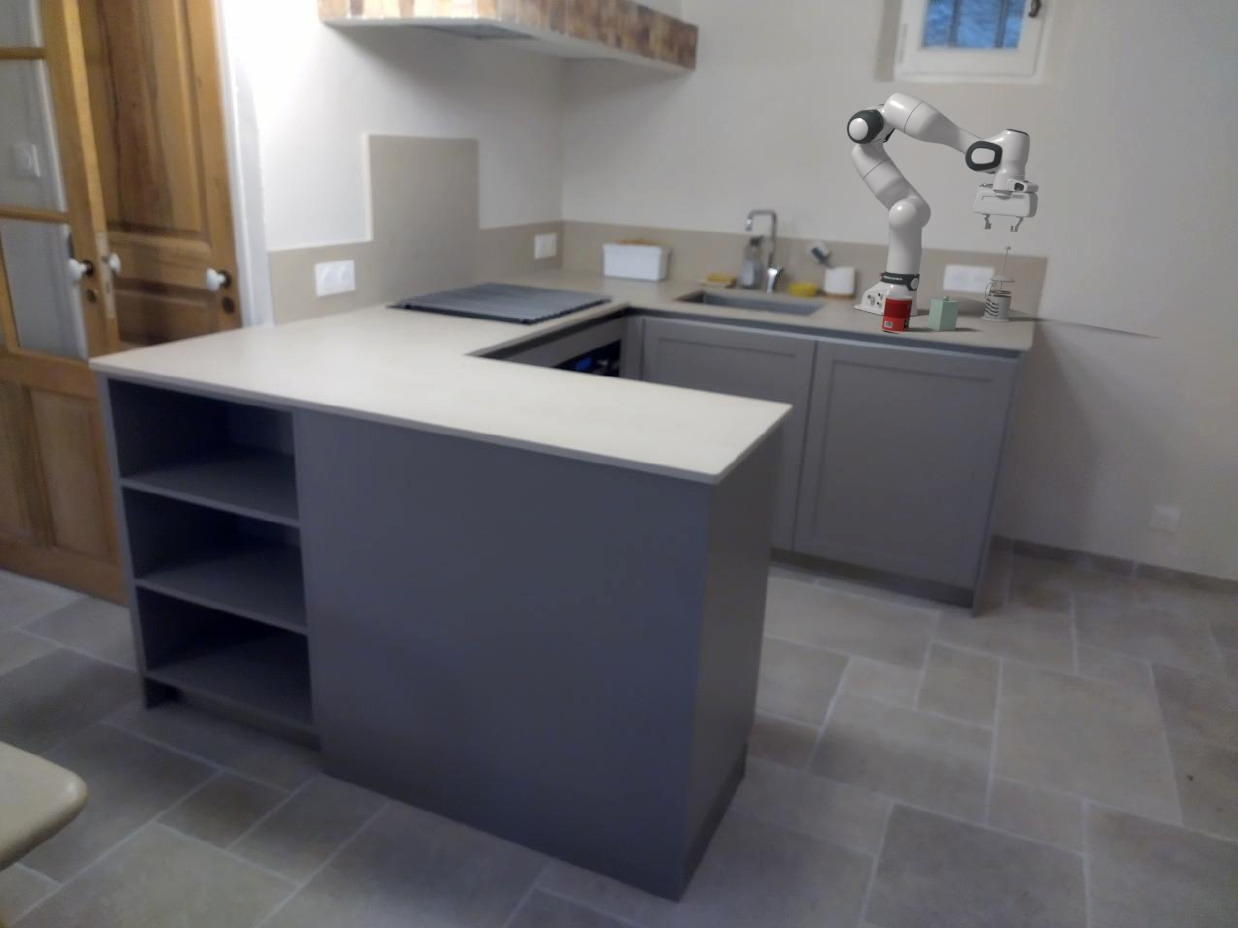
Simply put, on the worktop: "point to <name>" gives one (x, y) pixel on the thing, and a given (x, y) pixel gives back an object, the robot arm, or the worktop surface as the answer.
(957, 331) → the trivet
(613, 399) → the worktop surface
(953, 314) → the mint green square bottle
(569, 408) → the worktop surface
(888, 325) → the canned food
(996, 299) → the french press
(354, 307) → the worktop surface
